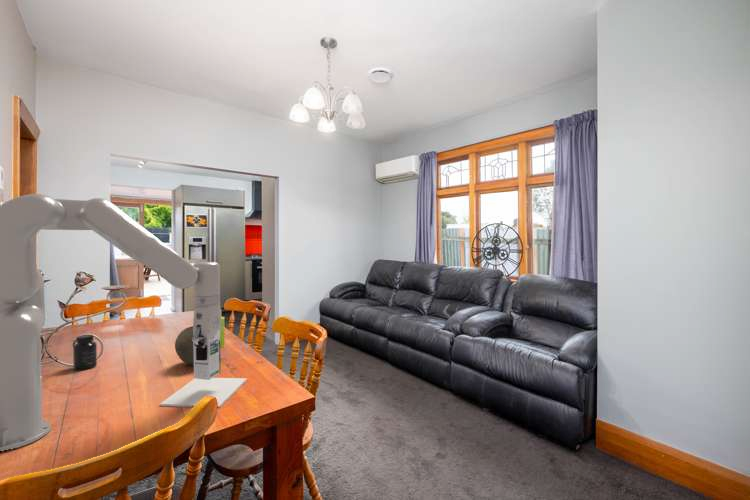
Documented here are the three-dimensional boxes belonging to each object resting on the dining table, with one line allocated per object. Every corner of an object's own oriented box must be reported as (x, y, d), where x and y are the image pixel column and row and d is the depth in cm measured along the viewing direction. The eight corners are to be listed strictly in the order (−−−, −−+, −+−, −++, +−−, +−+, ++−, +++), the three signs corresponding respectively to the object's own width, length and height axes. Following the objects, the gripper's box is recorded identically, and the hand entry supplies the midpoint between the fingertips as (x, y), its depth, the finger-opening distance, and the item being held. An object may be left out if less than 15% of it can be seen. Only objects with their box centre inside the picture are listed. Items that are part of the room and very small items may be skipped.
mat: (220, 407, 102) (220, 405, 102) (159, 405, 102) (159, 403, 102) (247, 380, 122) (247, 378, 122) (196, 378, 122) (196, 377, 122)
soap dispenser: (208, 345, 161) (208, 302, 160) (224, 343, 164) (224, 301, 163) (207, 349, 155) (207, 304, 155) (224, 347, 158) (224, 303, 158)
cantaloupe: (171, 363, 137) (171, 325, 137) (209, 355, 146) (209, 320, 146) (178, 374, 127) (178, 333, 126) (219, 365, 136) (219, 327, 135)
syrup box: (209, 380, 109) (209, 334, 108) (193, 378, 110) (192, 333, 109) (221, 373, 114) (221, 329, 114) (205, 371, 115) (205, 328, 115)
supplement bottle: (69, 368, 130) (69, 336, 130) (91, 363, 136) (91, 332, 136) (78, 372, 127) (78, 339, 127) (100, 366, 133) (100, 335, 133)
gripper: (204, 305, 102) (205, 366, 103) (230, 296, 120) (230, 348, 120) (179, 305, 103) (180, 365, 103) (209, 296, 120) (209, 347, 120)
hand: (207, 355), depth 112 cm, fingers closed on syrup box, 6 cm apart
